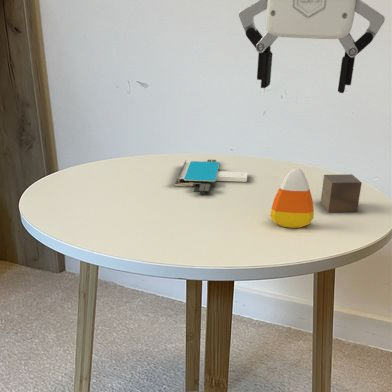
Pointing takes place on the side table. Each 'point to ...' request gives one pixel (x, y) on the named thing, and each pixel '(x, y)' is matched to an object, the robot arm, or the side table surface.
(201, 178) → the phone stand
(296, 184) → the candy corn
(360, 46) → the robot arm
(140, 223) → the side table surface
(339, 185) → the walnut block
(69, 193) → the side table surface
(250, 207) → the side table surface
